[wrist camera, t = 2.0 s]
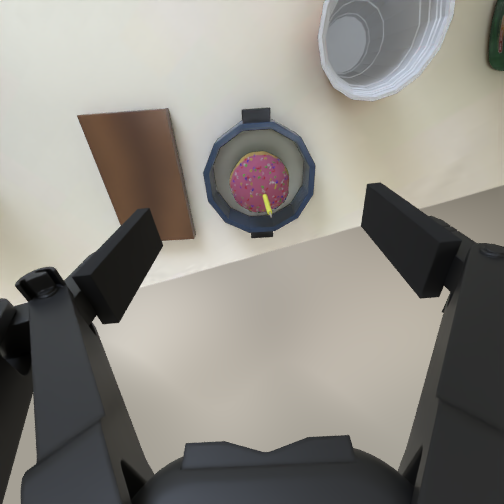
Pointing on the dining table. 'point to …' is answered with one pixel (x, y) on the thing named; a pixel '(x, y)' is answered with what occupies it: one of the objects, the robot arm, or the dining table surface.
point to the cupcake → (259, 182)
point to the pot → (264, 224)
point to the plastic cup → (380, 43)
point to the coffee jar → (497, 38)
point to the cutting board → (141, 167)
